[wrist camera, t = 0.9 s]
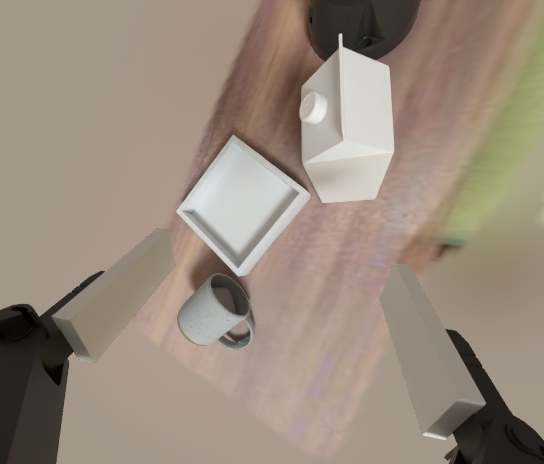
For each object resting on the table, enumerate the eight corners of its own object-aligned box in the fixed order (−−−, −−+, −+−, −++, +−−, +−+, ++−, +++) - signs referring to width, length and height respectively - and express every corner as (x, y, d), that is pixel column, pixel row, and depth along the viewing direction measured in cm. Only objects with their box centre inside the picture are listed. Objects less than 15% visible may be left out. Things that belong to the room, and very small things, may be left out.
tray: (241, 143, 39) (233, 134, 36) (311, 197, 34) (307, 191, 32) (188, 214, 41) (176, 211, 38) (247, 275, 36) (238, 276, 34)
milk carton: (372, 150, 32) (399, 15, 14) (375, 199, 32) (406, 122, 14) (321, 157, 35) (289, 48, 17) (322, 203, 34) (289, 141, 16)
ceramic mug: (196, 302, 39) (161, 313, 32) (229, 270, 37) (201, 274, 30) (233, 357, 36) (204, 383, 29) (270, 325, 34) (250, 344, 27)
